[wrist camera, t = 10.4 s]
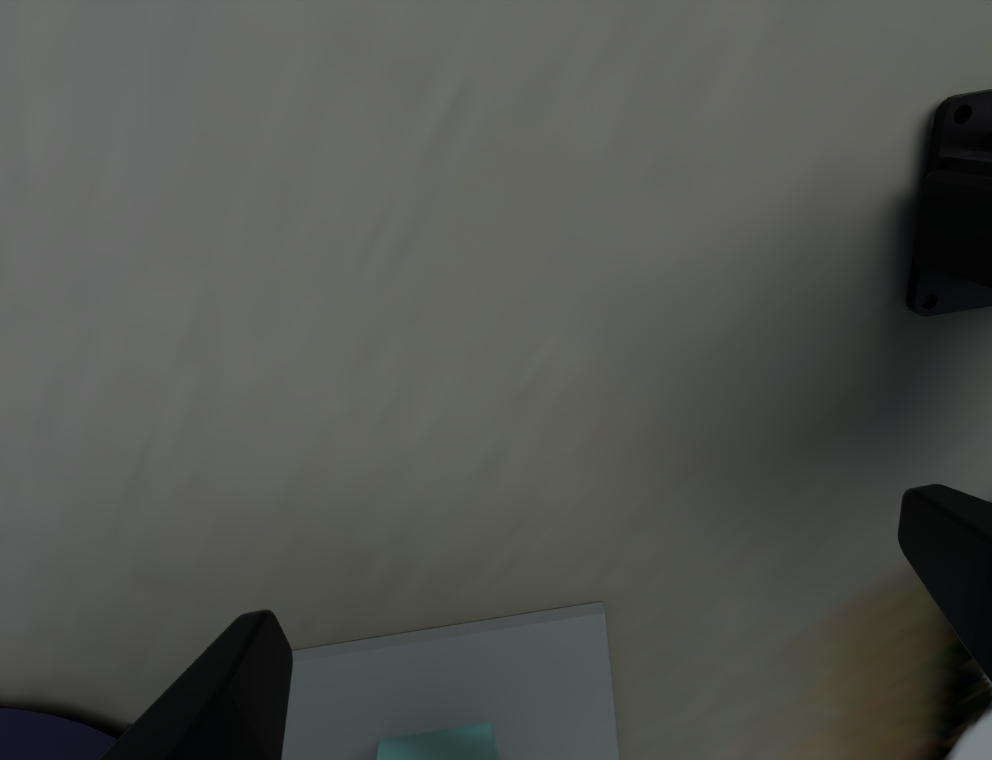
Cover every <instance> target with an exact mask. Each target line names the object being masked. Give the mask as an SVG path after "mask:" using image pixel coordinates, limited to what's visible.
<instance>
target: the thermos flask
mask: <svg viewBox="0 0 992 760" xmlns="http://www.w3.org/2000/svg"><path fill="white" fill-rule="evenodd" d="M131 726H132V725H130V724H128V726H127V728H126V730H125V731H124V733H125V732H126V731H127V730H128V729H129V728H130V727H131ZM124 733H123V734H124ZM116 741H117V739H115V738H113V737H111V736H109V735H107V734H104V733H102V732H100V731H98V730H96V729H93V728H91V727H89V726H87V725H84V724H81V723H78V722H74V721H71V720H67V719H64V718H60V717H57V716H54V715H50V714H44V713H38V712H32V711H25V710H19V709H12V708H0V760H98V759H99V758H100V757H101V756H102V755H103V754H104V753H105V752H106V751H107V750H108V749H109V748H110V747H111V746H112V745H113V744H114V743H115V742H116Z"/></svg>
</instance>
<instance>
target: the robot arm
mask: <svg viewBox="0 0 992 760" xmlns="http://www.w3.org/2000/svg"><path fill="white" fill-rule="evenodd" d="M959 107H960V108H961V114H960V116H959V118H958V119H957V120H956V122H954V117H953V116H954V113H955V111H956V110H957V109H958V108H959ZM927 295H929V298H928V301H927V302H925V303H924V304H922V302H923V300H924V298H925V297H926V296H927ZM906 306H907V307H908V309H909V310H910V311H912V312H914V313H916V314H919V315H921V316H932V315H939V314H945V313H951V312H957V311H963V310H969V309H976V308H982V307H988V306H992V89H989V90H983V91H977V92H970V93H964V94H958V95H954V96H951V97H948V98H947V99H946V100H945V101H943V102H942V103H941V105H940V106H939V107H938V109H937V111H936V114H935V117H934V124H933V130H932V136H931V143H930V149H929V156H928V162H927V169H926V175H925V180H924V184H923V190H922V197H921V203H920V210H919V216H918V222H917V229H916V235H915V242H914V248H913V255H912V265H911V272H910V278H909V285H908V291H907V298H906ZM898 541H899V544H900V547H901V549H902V552H903V553H904V555H905V557H906V558H907V560H908V561H909V563H910V564H911V566H912V567H913V569H914V570H915V572H916V573H917V575H918V577H919V578H920V580H921V581H922V583H923V584H924V586H925V587H926V589H927V590H928V592H929V593H930V595H931V596H932V598H933V600H934V601H935V603H936V604H937V606H938V607H939V609H940V610H941V612H942V613H943V615H944V616H945V618H946V619H947V621H948V623H949V624H950V626H951V627H952V629H953V630H954V632H955V633H956V635H957V636H958V638H959V639H960V641H961V642H962V644H963V645H964V646H965V648H966V649H967V651H968V652H969V654H970V655H971V656H972V658H973V659H974V660H975V662H976V663H977V664H978V665H979V667H980V668H981V669H982V671H983V672H984V673H985V675H986V676H987V677H988V678H989V680H990V681H991V682H992V503H991V502H988V501H985V500H982V499H980V498H977V497H974V496H971V495H969V494H966V493H963V492H960V491H958V490H955V489H952V488H949V487H947V486H944V485H940V484H931V485H926V486H920V487H915V488H910V489H908V490H906V492H905V493H904V494H903V497H902V504H901V512H900V520H899V528H898ZM292 669H293V654H292V650H291V647H290V644H289V642H288V640H287V638H286V636H285V634H284V632H283V630H282V628H281V626H280V624H279V622H278V620H277V618H276V616H275V615H274V613H273V612H272V611H270V610H260V611H255V612H249V613H245V614H242V615H240V616H239V617H238V618H237V619H236V620H235V621H234V622H233V623H232V624H231V625H230V626H229V627H228V628H227V629H226V630H225V631H224V632H223V633H222V634H221V635H220V636H219V637H218V638H217V639H216V640H215V641H214V642H213V643H212V644H211V645H210V646H209V647H208V648H207V649H206V650H205V651H204V652H203V653H202V654H201V655H200V656H199V657H198V658H197V659H196V660H195V661H194V662H193V663H192V664H191V665H190V666H189V667H188V668H187V670H186V671H185V672H184V673H183V674H182V675H181V676H180V677H179V678H178V679H177V680H176V681H175V682H174V683H173V684H172V685H171V686H170V687H169V688H168V689H167V690H166V691H165V692H164V693H163V694H162V695H161V696H160V697H159V698H158V699H157V700H156V701H155V702H154V703H153V704H152V705H151V706H150V707H149V708H148V709H147V710H146V711H145V712H144V713H143V714H142V715H141V716H140V717H139V718H138V719H137V720H136V721H135V722H134V724H133V725H132V726H131V727H130V728H129V729H128V730H127V731H126V732H125V733H124V734H123V735H122V736H121V737H120V738H119V739H118V740H117V741H116V742H115V743H114V744H113V745H112V746H111V747H110V748H109V749H108V750H107V751H106V752H105V753H104V754H103V755H102V756H101V757H100V758H99V759H98V760H282V752H283V744H284V736H285V727H286V719H287V711H288V702H289V694H290V686H291V677H292Z"/></svg>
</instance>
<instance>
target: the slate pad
mask: <svg viewBox="0 0 992 760" xmlns="http://www.w3.org/2000/svg"><path fill="white" fill-rule="evenodd" d="M292 654H293V669H292V677H291V686H290V694H289V702H288V711H287V719H286V727H285V736H284V744H283V752H282V760H377V754H378V745H379V740H381V739H387V738H393V737H400V736H406V735H412V734H418V733H424V732H431V731H437V730H443V729H449V728H455V727H462V726H468V725H474V724H480V723H486V722H491V724H492V728H493V732H494V736H495V740H496V744H497V748H498V753H499V757H500V760H619V753H618V742H617V732H616V721H615V711H614V700H613V690H612V679H611V669H610V658H609V648H608V637H607V627H606V616H605V611H604V607H603V604H602V602H595V603H589V604H583V605H577V606H570V607H564V608H558V609H551V610H545V611H539V612H533V613H526V614H520V615H514V616H508V617H501V618H495V619H489V620H482V621H476V622H470V623H464V624H457V625H451V626H445V627H438V628H432V629H426V630H420V631H413V632H407V633H401V634H394V635H388V636H382V637H376V638H369V639H363V640H357V641H350V642H344V643H338V644H332V645H325V646H319V647H313V648H306V649H300V650H294V651H292Z"/></svg>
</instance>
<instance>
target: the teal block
mask: <svg viewBox="0 0 992 760" xmlns="http://www.w3.org/2000/svg"><path fill="white" fill-rule="evenodd" d="M377 760H500V757H499V753H498V748H497V744H496V740H495V736H494V732H493V728H492V724H491V722H486V723H480V724H474V725H468V726H462V727H455V728H449V729H443V730H437V731H431V732H424V733H418V734H412V735H406V736H400V737H393V738H387V739H381V740H379V745H378V754H377Z"/></svg>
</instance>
